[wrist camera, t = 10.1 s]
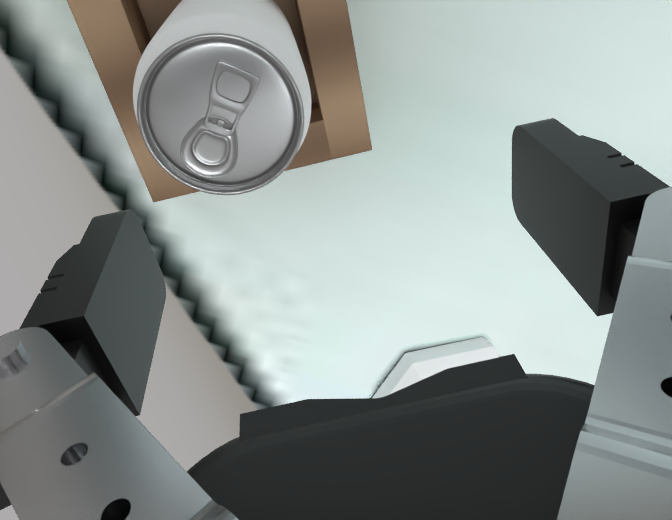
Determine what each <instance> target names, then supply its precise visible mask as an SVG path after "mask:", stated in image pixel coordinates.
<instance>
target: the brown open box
mask: <svg viewBox="0 0 672 520" xmlns="http://www.w3.org/2000/svg"><path fill="white" fill-rule="evenodd" d="M181 1H182V0H67V2H68V4H69V7H70V9H71V11H72V14H73V16H74V18H75V21H76V23H77V25H78V28H79V30H80V32H81V35H82V37H83V39H84V42H85V44H86V46H87V49H88V51H89V53H90V56H91V58H92V60H93V63H94V65H95V67H96V70H97V72H98V74H99V77H100V79H101V81H102V84H103V86H104V88H105V91H106V93H107V95H108V98H109V100H110V102H111V105H112V107H113V109H114V112H115V114H116V116H117V118H118V121H119V123H120V125H121V128H122V130H123V132H124V135H125V137H126V139H127V142H128V144H129V146H130V149H131V151H132V153H133V156H134V158H135V160H136V163H137V165H138V167H139V170H140V172H141V174H142V177H143V179H144V181H145V184H146V186H147V188H148V191H149V193H150V195H151V198H152V200H153V202H157V201H161V200H165V199H169V198H173V197H178V196H182V195H186V194H190V193H194V192H198V191H199V190H196V189H193V188H191V187H188V186H186V185H184V184H183V183H181V182H179V181H178V180H176V179H175V178H173V177H172V176H170V175H169V174H168V173H167V172H166V171H165V170H164V169H163V168H162V167H161V166H160V165H159V164H158V163H157V162H156V161H155V159H154V158H153V157H152V155H151V154H150V152H149V150H148V149H147V147H146V145H145V143H144V141H143V138H142V135H141V132H140V129H139V125H138V122H137V119H136V115H135V111H134V104H133V84H134V78H135V73H136V69H137V66H138V63H139V61H140V58H141V56H142V54H143V52H144V51H145V49H146V47H147V46H148V44H149V42H150V41H151V40H152V38H153V37H154V35H155V34H156V33H157V31H158V30H159V29H160V27H161V26H162V25H163V23H164V22H165V21H166V19H167V18H168V17H169V16H170V14H171V13H172V12H173V10H174V9H175V8H176V7H177V5H178V4H179V3H180V2H181ZM273 1H274V2H275V3H276V4H277V5H278V7H279V8H280V9H281V11H282V12H283V14H284V15H285V17H286V19H287V21H288V23H289V25H290V28H291V30H292V33H293V36H294V38H295V41H296V44H297V47H298V50H299V53H300V56H301V58H302V62H303V65H304V68H305V71H306V74H307V78H308V82H309V86H310V92H311V117H310V123H309V127H308V131H307V134H306V136H305V139H304V141H303V143H302V145H301V147H300V148H299V150H298V152H297V153H296V155H295V157H294V158H293V160H292V162H291V163H290V164H289V166H288V167H287V168H286V169H285V170H284V171H286V170H290V169H294V168H298V167H303V166H307V165H311V164H315V163H319V162H323V161H328V160H332V159H336V158H340V157H344V156H348V155H353V154H357V153H361V152H365V151H369V150H372V146H371V140H370V134H369V129H368V123H367V117H366V111H365V106H364V100H363V94H362V88H361V83H360V77H359V71H358V65H357V60H356V54H355V48H354V42H353V37H352V31H351V25H350V19H349V14H348V8H347V2H346V0H273Z"/></svg>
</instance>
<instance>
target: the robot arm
mask: <svg viewBox="0 0 672 520" xmlns="http://www.w3.org/2000/svg"><path fill="white" fill-rule="evenodd" d="M512 201H513V206H514V210H515V213H516V216H517V218H518V220H519V222H520V223H521V224H522V226H523V227H524V228H525V229H526V230H527V232H528V233H529V234H530V235H531V236H532V238H533V239H534V240H535V241H536V243H537V244H538V245H539V246H540V247H541V249H542V250H543V251H544V252H545V253H546V255H547V256H548V257H549V258H550V260H551V261H552V262H553V263H554V264H555V266H556V267H557V268H558V269H559V270H560V272H561V273H562V274H563V275H564V277H565V278H566V279H567V280H568V281H569V283H570V284H571V285H572V286H573V287H574V289H575V290H576V291H577V292H578V293H579V295H580V296H581V297H582V298H583V300H584V301H585V302H586V303H587V304H588V306H589V307H590V308H591V309H592V310H593V312H594V313H595V314H596V315H597V316H601V315H605V314H610V313H613V316H612V320H611V324H610V328H609V332H608V336H607V340H606V344H605V347H604V351H603V355H602V359H601V363H600V367H599V371H598V375H597V379H596V383H595V385H592V384H589V383H586V382H582V381H578V380H575V379H571V378H566V377H560V376H554V375H543V374H525V372H524V370H523V369H522V367H521V365H520V363H519V362H518V360H517V358H516V356H515V355H514V354H512V355H507V356H503V357H498V358H493V359H489V360H484V361H480V362H475V363H471V364H466V365H462V366H457V367H452V368H448V369H445V370H443V371H441V372H439V373H436V374H434V375H432V376H430V377H427V378H425V379H423V380H421V381H418V382H416V383H414V384H412V385H410V386H407V387H405V388H403V389H401V390H398V391H396V392H394V393H392V394H389V395H387V396H384V397H381V398H369V399H307V400H302V401H298V402H293V403H289V404H284V405H280V406H275V407H270V408H266V409H261V410H257V411H253V412H248V413H243V414H240V437H238V438H235V439H233V440H231V441H229V442H228V443H226V444H224V445H222V446H220V447H219V448H217V449H215V450H214V451H212V452H211V453H210V454H208V455H207V456H205V457H204V458H202V459H201V460H200V461H199V462H198V463H196V464H195V465H194V466H193V467H192V468H190V469H189V470H188V471H187V472H186V471H185V470H184V468H183V467H181V465H180V464H179V463H178V462H177V461H176V460H175V459H174V458H173V457H172V456H171V454H170V453H169V452H168V451H167V450H166V449H165V448H164V447H163V446H162V445H161V444H160V442H159V441H158V440H157V439H156V438H155V437H154V436H153V435H152V434H151V433H150V432H149V431H148V430H147V429H146V427H145V426H144V425H143V424H142V423H141V422H140V421H139V420H138V419H137V418H136V417H135V416H138V415H140V412H141V407H142V403H143V399H144V394H145V389H146V384H147V380H148V375H149V371H150V367H151V362H152V358H153V353H154V349H155V344H156V340H157V335H158V331H159V326H160V322H161V317H162V312H163V308H164V304H165V298H166V288H165V282H164V278H163V274H162V272H161V269H160V267H159V264H158V262H157V260H156V257H155V255H154V253H153V251H152V248H151V246H150V244H149V241H148V239H147V237H146V234H145V232H144V230H143V228H142V225H141V223H140V221H139V219H138V217H137V215H136V214H135V213H134V212H133V211H132V210H130V209H129V210H124V211H120V212H115V213H111V214H106V215H101V216H97V217H94V218H93V219H92V220H91V222H90V224H89V226H88V228H87V230H86V232H85V234H84V236H83V238H82V240H81V242H80V244H78V245H74V246H73V247H72V248H71V249H69V250H68V251H67V252H66V253H65V254H64V255H63V256H62V257H61V258H59V259H58V260H57V261H56V263H55V265H54V266H53V268H52V270H51V272H50V274H49V276H48V280H46V281H45V283H44V285H43V287H42V288H41V293H40V294H38V296H37V298H36V299H35V301H34V303H33V305H32V307H31V309H30V310H29V312H28V314H27V316H26V318H25V319H24V322H23V323H22V325H21V327H20V329H18V330H15V331H12V332H9V333H6V334H4V335H2V336H0V510H1V509H3V508H5V507H7V506H10V505H12V506H13V508H14V510H15V512H16V514H17V516H18V518H19V520H672V187H670V186H668V185H667V184H665V183H664V182H662V181H661V180H659V179H658V178H657V177H655V176H654V175H652V174H651V173H649V172H648V171H646V170H645V169H643V168H642V167H641V166H639V165H638V164H637V165H634V162H633V161H632V160H630V159H629V158H627V157H626V156H625V155H624V156H622V155H621V153H620V152H619V151H617V150H616V149H614V148H613V147H612V146H610V145H609V144H607V143H606V142H602V141H599V140H596V139H593V138H589V137H586V136H583V135H582V136H578V135H577V134H575V133H574V132H572V131H571V130H570V129H568V128H567V127H566V126H564V125H563V124H561V123H560V122H559V121H557V120H556V119H554V118H551V119H547V120H542V121H537V122H533V123H528V124H524V125H519V126H516V127H515V129H514V131H513V135H512Z"/></svg>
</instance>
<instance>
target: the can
mask: <svg viewBox="0 0 672 520" xmlns="http://www.w3.org/2000/svg"><path fill="white" fill-rule="evenodd" d="M133 104H134V111H135V115H136V119H137V122H138V125H139V129H140V132H141V135H142V138H143V141H144V143H145V145H146V147H147V149H148V150H149V152H150V154H151V155H152V157H153V158H154V159H155V161H156V162H157V163H158V164H159V165H160V166H161V167H162V168H163V169H164V170H165V171H166V172H167V173H168V174H169V175H170V176H172V177H173V178H175V179H176V180H178V181H179V182H181V183H183V184H184V185H186V186H188V187H191V188H193V189H196V190H199V191H202V192H206V193H210V194H218V195H235V194H242V193H246V192H250V191H253V190H256V189H258V188H261V187H263V186H265V185H267V184H268V183H270V182H271V181H273V180H274V179H276V178H277V177H278V176H279V175H280V174H281V173H282V172H283V171H284V170H285V169H286V168H287V167H288V166H289V164H290V163H291V162H292V160H293V158H294V157H295V155H296V153H297V152H298V150H299V148H300V147H301V145H302V143H303V141H304V139H305V136H306V134H307V131H308V127H309V123H310V117H311V92H310V86H309V82H308V78H307V74H306V71H305V68H304V65H303V62H302V58H301V56H300V53H299V50H298V47H297V44H296V41H295V38H294V36H293V33H292V30H291V28H290V25H289V23H288V21H287V19H286V17H285V15H284V14H283V12H282V11H281V9H280V8H279V7H278V5H277V4H276V3H275V2H274V1H273V0H182V1H181V2H180V3H179V4H178V5H177V7H176V8H175V9H174V10H173V12H172V13H171V14H170V16H169V17H168V18H167V19H166V21H165V22H164V23H163V25H162V26H161V27H160V29H159V30H158V31H157V33H156V34H155V35H154V37H153V38H152V40H151V41H150V42H149V44H148V46H147V47H146V49H145V51H144V52H143V54H142V56H141V58H140V61H139V63H138V66H137V69H136V73H135V78H134V84H133Z"/></svg>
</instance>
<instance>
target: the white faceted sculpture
mask: <svg viewBox="0 0 672 520" xmlns="http://www.w3.org/2000/svg"><path fill="white" fill-rule="evenodd" d="M498 357H500V356H499V355H498V353H497V351H496V350H495V348H494V346H493V345H492V344H491V343H489V342H488V341H487V340H486V339H485V338H484V337H479V338H474V339H469V340H464V341H460V342H455V343H450V344H446V345H441V346H436V347H432V348H427V349H422V350H417V351H413V352H408V353H405V354H404V356H403V357H402V358H401V360H400V361H399V362H398V364H397V365H396V366H395V368H394V369H393V370H392V372H391V373H390V374H389V376H388V377H387V378H386V380H385V381H384V383H383V384H382V385H381V387H380V388H379V389H378V391H377V392H376V394H375V395H374V396H373V398H381V397H384V396H387V395H389V394H392V393H394V392H396V391H398V390H401V389H403V388H405V387H407V386H410V385H412V384H414V383H416V382H418V381H421V380H423V379H425V378H427V377H430V376H432V375H434V374H436V373H439V372H441V371H443V370H445V369H448V368H452V367H457V366H462V365H466V364H471V363H475V362H480V361H484V360H489V359H493V358H498Z"/></svg>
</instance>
